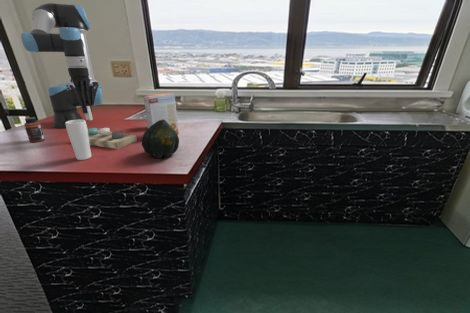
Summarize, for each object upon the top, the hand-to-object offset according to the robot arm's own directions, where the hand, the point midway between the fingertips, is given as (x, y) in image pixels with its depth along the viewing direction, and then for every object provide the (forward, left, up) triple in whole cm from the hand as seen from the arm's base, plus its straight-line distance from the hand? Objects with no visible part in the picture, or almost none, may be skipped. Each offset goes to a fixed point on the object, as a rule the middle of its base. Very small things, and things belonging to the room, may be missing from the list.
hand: (89, 119), depth 118 cm
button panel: (+8, 0, -10) cm, 13 cm away
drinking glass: (+17, -19, -10) cm, 27 cm away
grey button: (+16, 0, -7) cm, 18 cm away
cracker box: (+28, +18, -10) cm, 35 cm away
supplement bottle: (-24, -11, -10) cm, 28 cm away
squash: (+43, -4, -10) cm, 45 cm away
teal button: (0, 0, -7) cm, 7 cm away
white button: (+8, 0, -6) cm, 10 cm away
